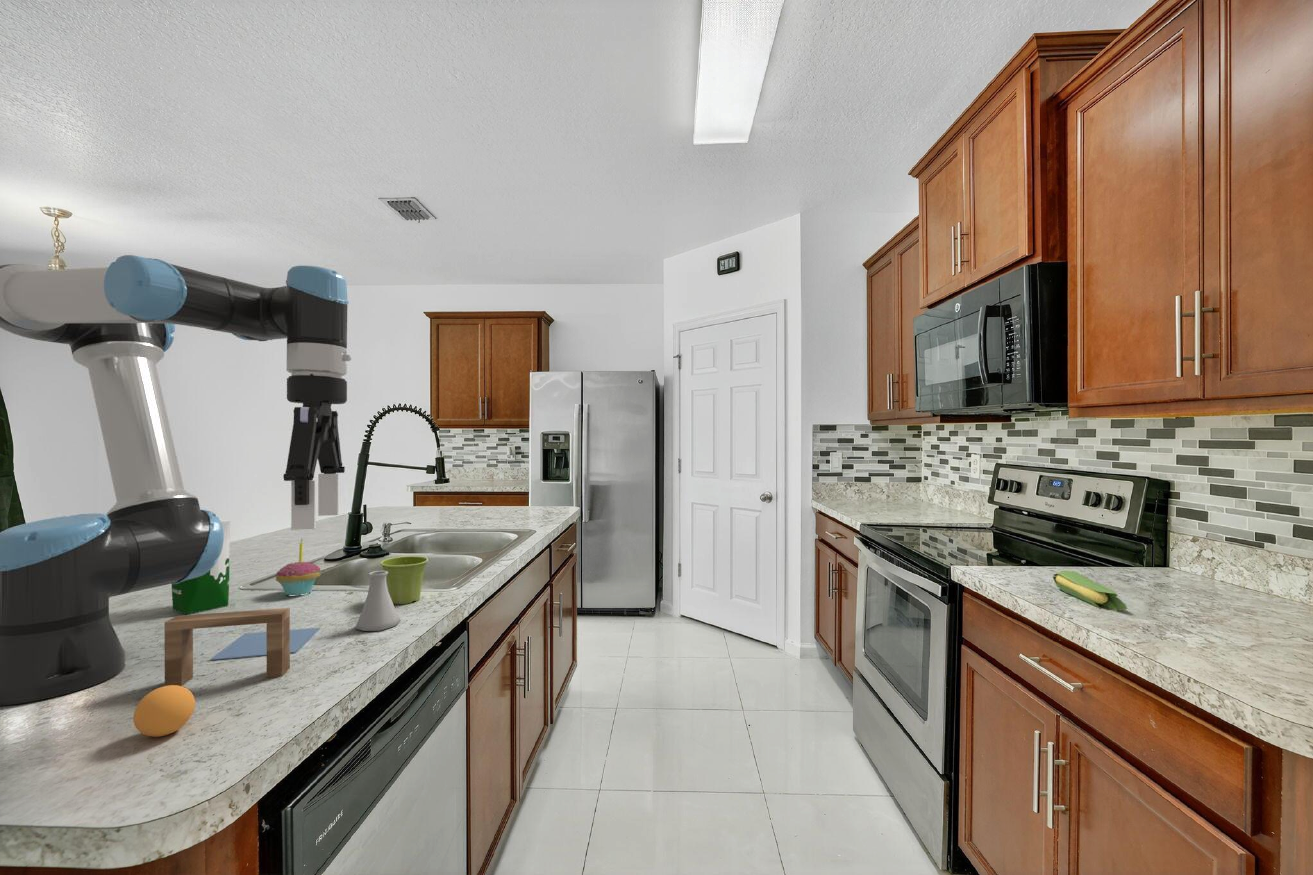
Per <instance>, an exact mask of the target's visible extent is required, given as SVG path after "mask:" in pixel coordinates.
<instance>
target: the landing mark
mask: <svg viewBox="0 0 1313 875" xmlns="http://www.w3.org/2000/svg"><path fill="white" fill-rule="evenodd" d="M319 630H321V627H311V628H310V627H309V628H299V629H290V654H296V653H298V652H299V651H300V650H301V649H302V648H303V646H304V645H306V643H308V642H309V640H310V639H311V638H313V636H314V635H315V634H316V633H317V632H318V631H319ZM265 656H266V657H267V631H260V632H250V633H249V632H247V633H243V634H242V635H240V636H239V637H238V638H237V639H236V640H234V641H233V642H231V643H230V644H229V645H227V646H226V647H224V648H223V649H222V650H221V651H219V652H217V653H216V654H215V655H214V656H213V657H211V658H210V659H209V661H213V662H214V661H221V660H222V661H223V660H224V661H225V660H233V659H243V658H244V659H245V658H256V657H265Z"/></svg>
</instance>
